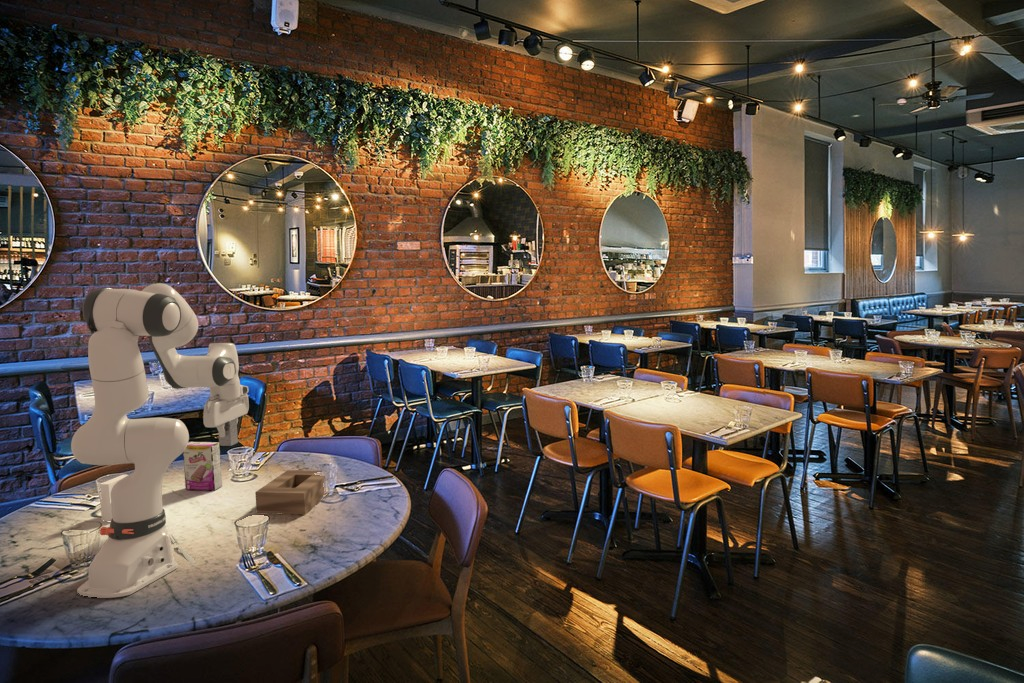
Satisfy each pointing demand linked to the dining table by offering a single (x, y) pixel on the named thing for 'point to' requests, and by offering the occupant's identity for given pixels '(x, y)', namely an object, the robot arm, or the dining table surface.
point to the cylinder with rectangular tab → (107, 497)
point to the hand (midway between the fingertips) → (228, 434)
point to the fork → (183, 552)
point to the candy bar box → (202, 466)
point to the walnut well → (291, 493)
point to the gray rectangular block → (229, 434)
